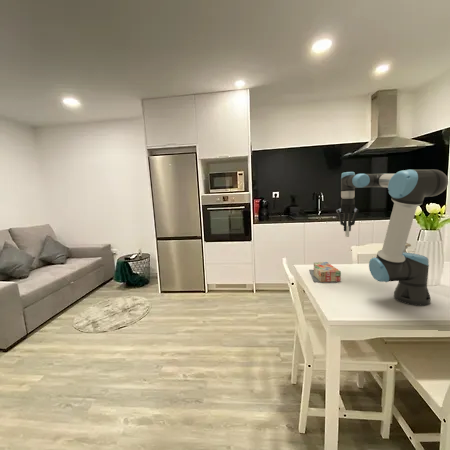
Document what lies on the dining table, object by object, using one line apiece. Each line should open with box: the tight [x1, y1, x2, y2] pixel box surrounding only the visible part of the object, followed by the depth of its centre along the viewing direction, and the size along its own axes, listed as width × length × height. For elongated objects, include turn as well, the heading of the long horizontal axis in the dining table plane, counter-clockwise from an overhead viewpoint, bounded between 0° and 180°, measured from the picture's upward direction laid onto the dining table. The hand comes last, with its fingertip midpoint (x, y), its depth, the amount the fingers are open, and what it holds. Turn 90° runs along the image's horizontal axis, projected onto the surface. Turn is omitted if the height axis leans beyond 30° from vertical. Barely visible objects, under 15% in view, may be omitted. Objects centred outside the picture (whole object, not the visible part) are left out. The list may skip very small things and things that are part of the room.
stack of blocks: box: [313, 261, 342, 283], centre depth 173 cm, size 21×6×12 cm
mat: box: [308, 269, 338, 284], centre depth 174 cm, size 24×13×1 cm, turn 169°
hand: (347, 236), depth 167 cm, fingers closed
